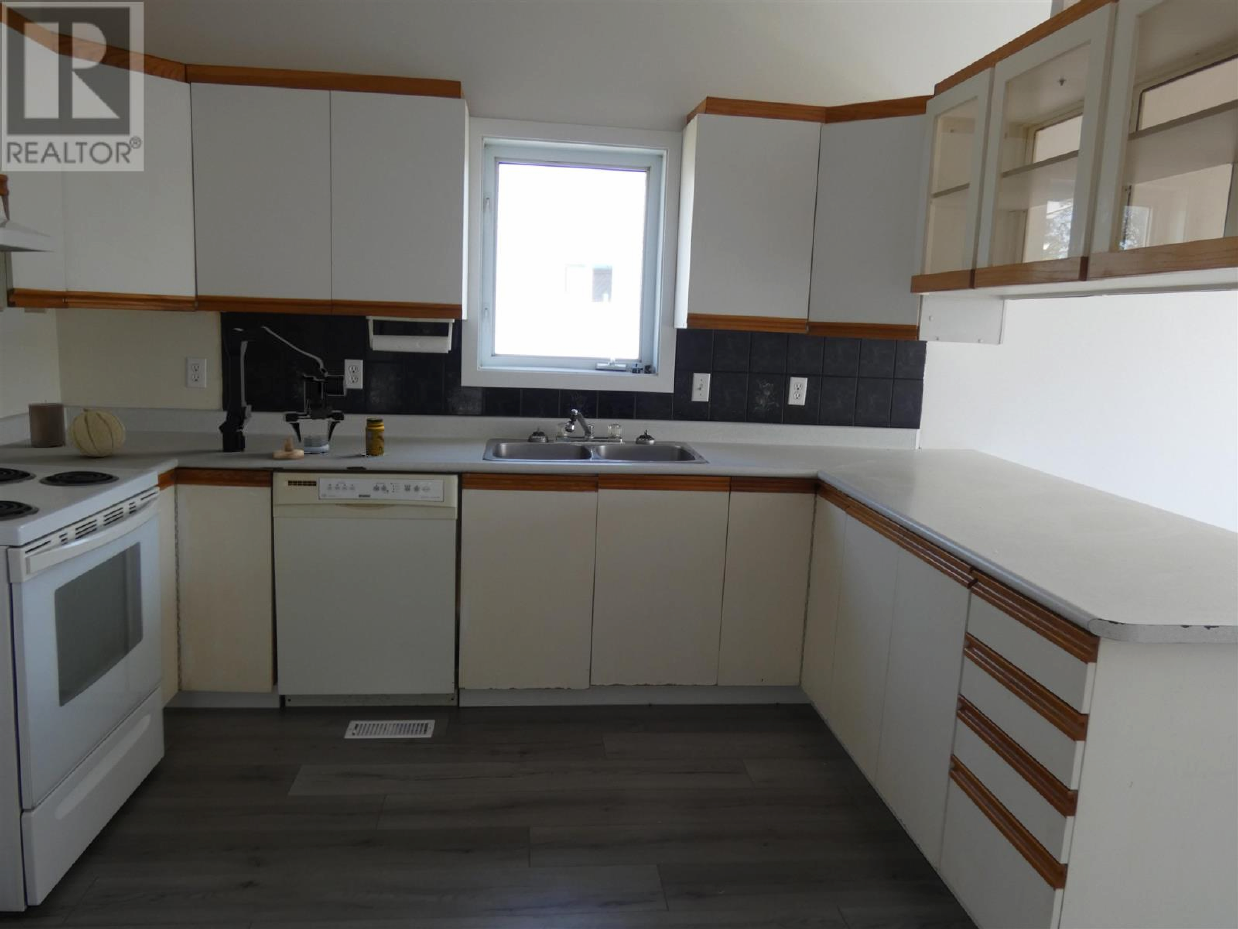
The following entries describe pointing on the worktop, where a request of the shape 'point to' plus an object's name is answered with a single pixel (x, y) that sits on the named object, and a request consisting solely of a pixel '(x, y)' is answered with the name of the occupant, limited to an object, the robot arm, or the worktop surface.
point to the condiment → (374, 437)
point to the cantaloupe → (97, 433)
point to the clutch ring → (314, 441)
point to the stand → (288, 451)
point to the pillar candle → (47, 424)
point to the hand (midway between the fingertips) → (314, 442)
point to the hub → (315, 448)
